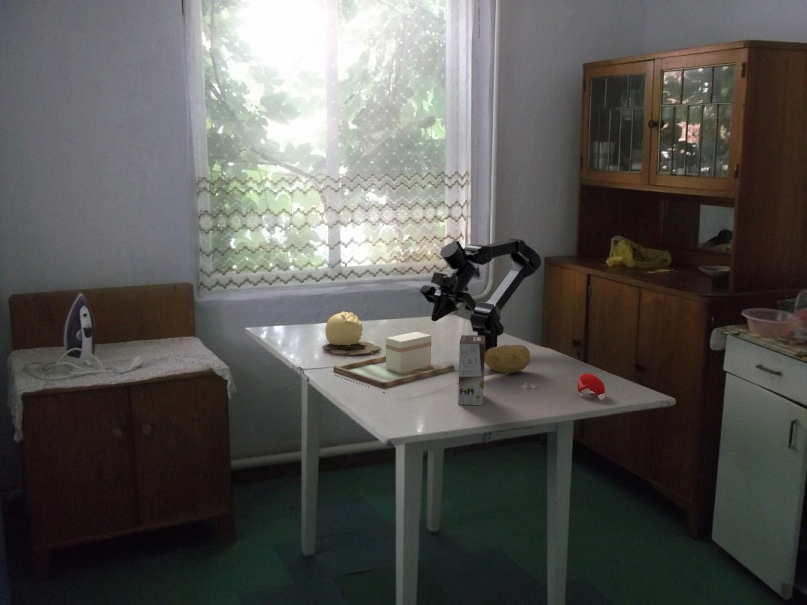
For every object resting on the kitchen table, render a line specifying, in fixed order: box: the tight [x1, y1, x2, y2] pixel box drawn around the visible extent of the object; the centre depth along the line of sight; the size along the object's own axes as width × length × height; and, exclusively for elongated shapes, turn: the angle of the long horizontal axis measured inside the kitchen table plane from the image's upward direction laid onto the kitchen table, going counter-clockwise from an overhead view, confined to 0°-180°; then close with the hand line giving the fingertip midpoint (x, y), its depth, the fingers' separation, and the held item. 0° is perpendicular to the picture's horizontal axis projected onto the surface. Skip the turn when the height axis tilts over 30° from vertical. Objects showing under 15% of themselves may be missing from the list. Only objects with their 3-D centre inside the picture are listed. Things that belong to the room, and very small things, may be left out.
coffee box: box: [457, 334, 486, 406], centre depth 213 cm, size 9×6×16 cm
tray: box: [333, 354, 455, 389], centre depth 236 cm, size 27×21×2 cm
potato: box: [485, 344, 531, 374], centre depth 239 cm, size 10×14×8 cm
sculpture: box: [324, 311, 364, 346], centre depth 269 cm, size 12×12×11 cm
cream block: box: [385, 331, 432, 373], centre depth 239 cm, size 12×6×9 cm, turn 133°
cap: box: [576, 372, 606, 396], centre depth 218 cm, size 8×6×6 cm
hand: (433, 320), depth 244 cm, fingers closed
